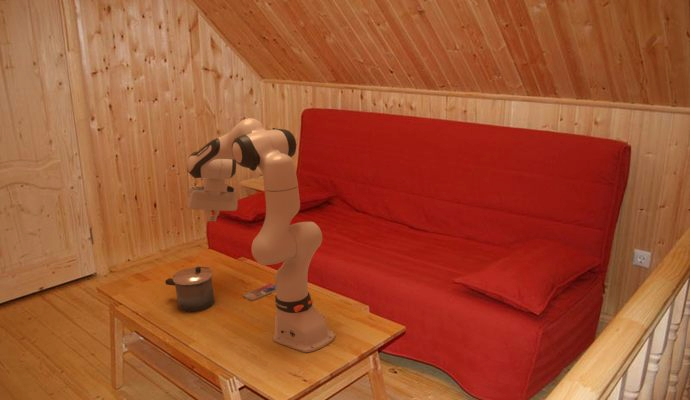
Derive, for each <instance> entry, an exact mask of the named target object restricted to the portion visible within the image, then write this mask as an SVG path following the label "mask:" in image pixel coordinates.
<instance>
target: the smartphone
mask: <svg viewBox="0 0 690 400" xmlns="http://www.w3.org/2000/svg"><path fill="white" fill-rule="evenodd" d="M274 293H276V288H275V283H268V284H265V285H264V286H261V287H258V288H256V289H253V290H251V291H249V292H247V293H245V294H243V295H242V298H244V299H246V300H248V301H249V302H255V301H257V300H261V298H264V297H267V296H268V295H272V294H274Z"/></svg>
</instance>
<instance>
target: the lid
mask: <svg viewBox="0 0 690 400" xmlns="http://www.w3.org/2000/svg"><path fill="white" fill-rule="evenodd" d="M211 278H212V279H213V270H212V269H211V268H210V267H207V266H196V267H189V268H185V269H182V270H179V271H177V272H175V273H174V274H173V275H172V279H173V282H174V283H176V284H179V285H195V284H200V283H203V282H206V281H208V280H209V279H211Z"/></svg>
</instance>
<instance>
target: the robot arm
mask: <svg viewBox="0 0 690 400" xmlns="http://www.w3.org/2000/svg"><path fill="white" fill-rule="evenodd" d="M296 151H297V141H296V138H295V136H294V134H293V133H292V132H291V131H290V130H288V129H283V128H276V127H273V128H272V129H268V130H267V129H265V127H264V125H263V123H262V122H261V121H259V120H258V119H257V118H252V117H248V118H245V119H243V120H241V121H240V122H238V123H236V125H235V126H234V127H232V129H231V130H230V131H229V132H227V133H225V134H223V135H221V136H220V137H217V138H215V139H212V140H210V141H209V142H208V143H206V144H205V145H204V146H203V147H202V148H200V149H199V150H197V151H194V152H192V153H191V154H190V155H189V156H188V159H187V161H186V162H187V163H186V170H187V172H188V173H189V176H191V177H192V178H193V179H202V186H195V185H192V186H191V187H189V188H188V190H187V195H188V197H187V204H186V207H187V209H188V210H196V211H197V210H202V211H204V212H205V214H206V216H207V222H217V217H218V216H219V214H220V211H223V212H224V211H225V212H226V211H228V212H236V211H237V210H238V196H237V194H236V192H237V188H236V186H235V187H234V186H233V185H229V184H227V183H226V180H229V179H232V178H233V177H234V176H235V175H236V172H237V164H238V166H241V167H242V168H246V169H250V171H253V172H254V171H256V170H257V167H258V168H259V169H260V172H262V176H263V186H264V196H265V197H264V198H265V217H264V221H263V225H262V227H261V229H260V230H259V232H258V234H257V235H256V236H255V237H254V239H253V241H252V243H251V254H252V257H253V258H254V260H255V261H256V262H257V263H258V264H260V265H261V266H270V265H277V264H279V263H282V265H281V266H280V267H279V268H278V269H277V270H276V272H275V276H274V285H275V288H276V292H275V298H274V302H275V307H276V313H275V316H274V317H275V318H274V335H273V338H272V341H273V342H275V343H278V344H281V345H283V346H286V347H289V348H291V349H294V350H297V351H299V352H303V353H312V352H314V351H318V350H320V349H322V348H324V347H326V346H327V345H329V344H331V342H333V341H334V339H335V338H336V334H335V332H333V331H332V330H331V329H329V328H328V324H327V321H326V319H325V314H324V313H320V311H318V309H317V308H316V306H314V304H313V303H314V300H315V299H314V298H313V299H312V297H311V294H310V292H309V288H308V287H309V286H308V285H309V284H308V283H309V281H308V272H309V267H310V264H311V261H312V258H313V256H314V255H315V253H316V251H317V250H318V248H319V247H320V246H321V244H322V242H323V233H322V231H321V230H322V229H321V228H320V227H319V225H317V224H316V222H315V221H314V222H313V221H301V222H300V221H299V222H296V223H293V224H291V222H292V220H293V218H295V216H296V215H297V214H298V213H299V211H300V208H301V201H300V191H299V183H298V176H297V172H296V167H295V164H294V161H293V159H292V157H293V156H294V155H295V154H296ZM211 211H213V212H214V215H213V216H211Z"/></svg>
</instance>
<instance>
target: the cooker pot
mask: <svg viewBox="0 0 690 400" xmlns="http://www.w3.org/2000/svg"><path fill="white" fill-rule="evenodd" d="M165 285H166V286H167V285H168V286H173V287H175V293H176V299H177V305H178V309H179V310H180V311H181V312H184V313H199V312H203V311H206V310H208V309H209V308H211V307H213V305H214V304H215V302H216V301H215V300H216V299H215V294H214V293H215V292H214V285H213V277H212V278H211V279H209V280H208V281H206V282H203V283H200V284H195V285H179V284H176V283H174V282H173V278H167V279H166V280H165Z"/></svg>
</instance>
